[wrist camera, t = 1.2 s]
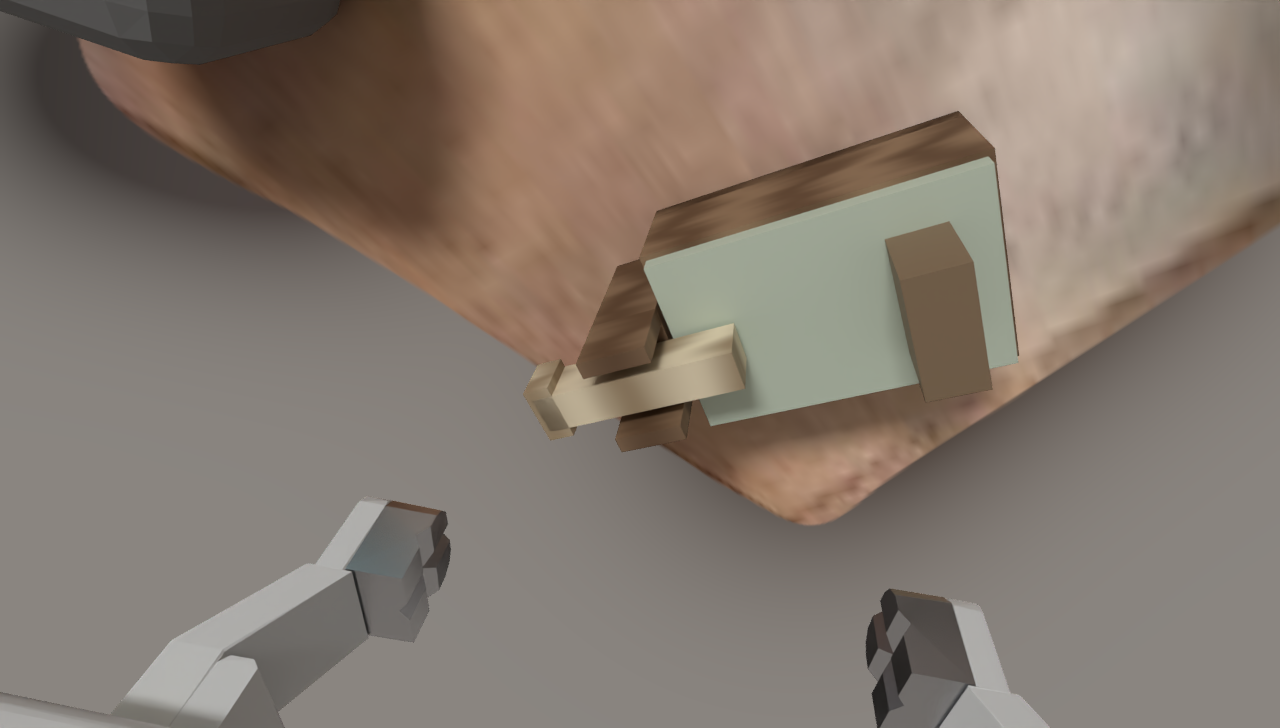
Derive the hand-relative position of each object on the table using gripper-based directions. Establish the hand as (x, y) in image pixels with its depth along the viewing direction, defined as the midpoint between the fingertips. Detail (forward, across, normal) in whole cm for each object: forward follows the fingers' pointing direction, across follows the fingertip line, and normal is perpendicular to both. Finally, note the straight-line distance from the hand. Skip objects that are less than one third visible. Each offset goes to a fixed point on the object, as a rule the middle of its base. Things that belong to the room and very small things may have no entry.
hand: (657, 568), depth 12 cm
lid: (+25, -7, +7) cm, 27 cm away
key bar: (+24, +3, +12) cm, 27 cm away
